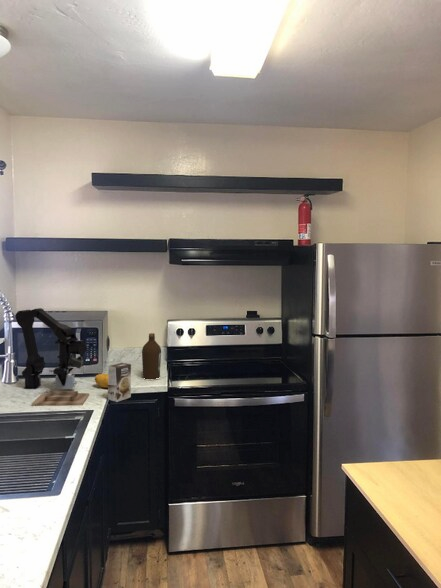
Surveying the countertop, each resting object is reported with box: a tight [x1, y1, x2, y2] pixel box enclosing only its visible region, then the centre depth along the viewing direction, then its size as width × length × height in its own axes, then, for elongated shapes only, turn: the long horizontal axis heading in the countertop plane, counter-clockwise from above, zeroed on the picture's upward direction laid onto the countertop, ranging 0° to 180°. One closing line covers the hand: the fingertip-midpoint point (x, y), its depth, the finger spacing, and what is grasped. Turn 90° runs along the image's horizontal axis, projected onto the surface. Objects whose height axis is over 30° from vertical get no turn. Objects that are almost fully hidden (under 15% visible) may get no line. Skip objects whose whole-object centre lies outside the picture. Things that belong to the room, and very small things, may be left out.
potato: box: [94, 373, 108, 389], centre depth 223 cm, size 7×14×7 cm, turn 68°
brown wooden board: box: [31, 390, 90, 407], centre depth 201 cm, size 22×15×3 cm
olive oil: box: [141, 332, 162, 380], centre depth 242 cm, size 11×11×25 cm
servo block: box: [52, 372, 78, 390], centre depth 215 cm, size 11×4×7 cm, turn 96°
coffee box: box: [107, 362, 132, 403], centre depth 205 cm, size 9×6×16 cm
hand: (65, 384), depth 215 cm, fingers closed on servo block, 4 cm apart
